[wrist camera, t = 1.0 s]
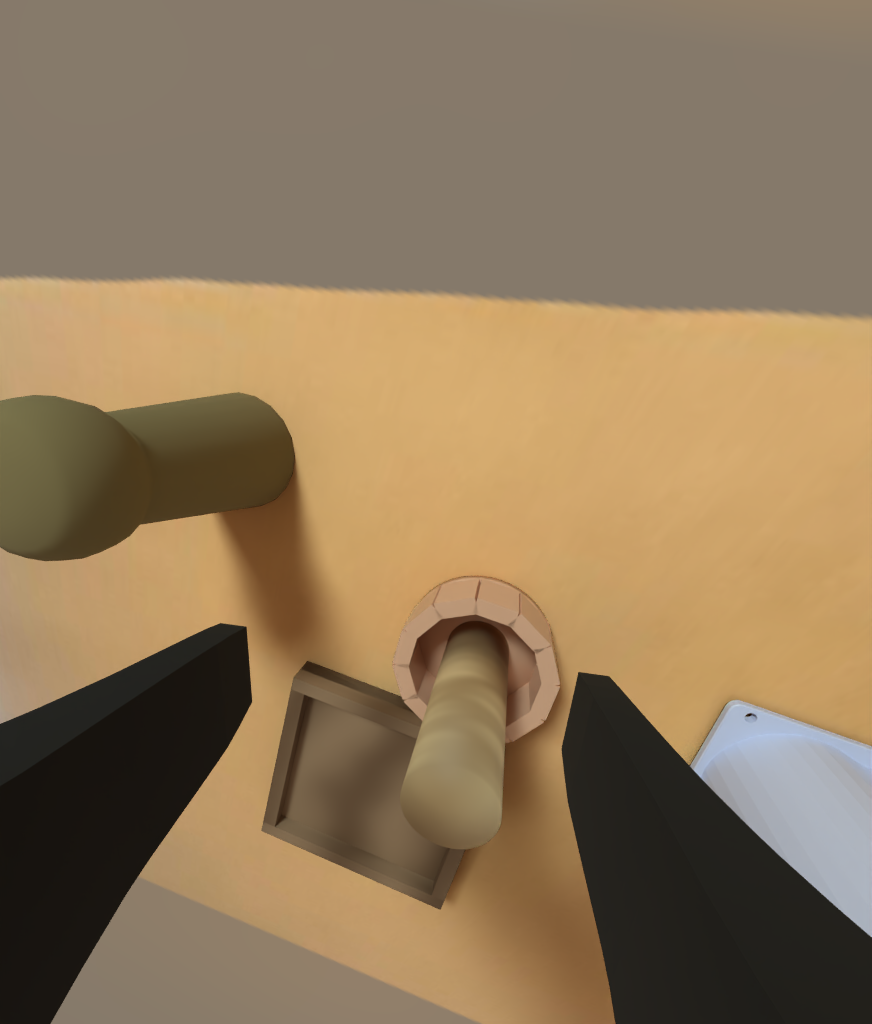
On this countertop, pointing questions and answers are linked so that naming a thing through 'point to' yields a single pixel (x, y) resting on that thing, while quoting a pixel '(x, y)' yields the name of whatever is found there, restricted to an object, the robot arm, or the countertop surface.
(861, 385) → the countertop surface
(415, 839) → the walnut tray
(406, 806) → the dowel pin
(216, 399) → the olive green pawn
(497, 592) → the pink round piece
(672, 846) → the robot arm
